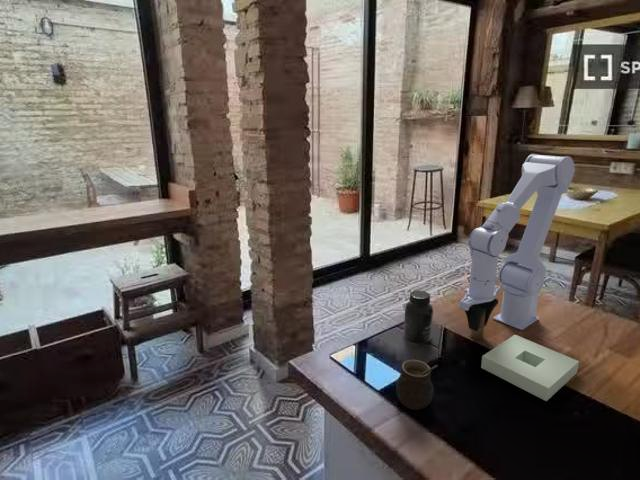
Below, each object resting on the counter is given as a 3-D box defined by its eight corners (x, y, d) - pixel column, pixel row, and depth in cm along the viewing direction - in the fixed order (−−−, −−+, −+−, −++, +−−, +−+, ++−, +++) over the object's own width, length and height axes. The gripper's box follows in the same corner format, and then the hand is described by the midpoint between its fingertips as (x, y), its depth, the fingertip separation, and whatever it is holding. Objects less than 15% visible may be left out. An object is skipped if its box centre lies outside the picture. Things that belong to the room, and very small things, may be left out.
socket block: (513, 345, 97) (514, 334, 96) (576, 373, 86) (579, 361, 85) (480, 367, 89) (482, 355, 88) (546, 401, 78) (548, 388, 77)
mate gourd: (398, 386, 83) (401, 344, 80) (436, 395, 80) (440, 352, 77) (391, 408, 77) (393, 364, 74) (431, 419, 74) (435, 374, 71)
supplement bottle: (432, 346, 97) (435, 301, 93) (403, 343, 98) (405, 299, 95) (430, 331, 104) (433, 289, 100) (403, 329, 105) (405, 287, 101)
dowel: (474, 331, 103) (477, 307, 101) (485, 336, 101) (488, 311, 99) (467, 335, 101) (470, 310, 99) (478, 340, 99) (481, 315, 97)
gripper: (484, 265, 103) (479, 312, 107) (450, 279, 95) (446, 330, 99) (510, 273, 98) (504, 322, 102) (477, 289, 90) (471, 342, 94)
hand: (477, 326), depth 100 cm, fingers closed on dowel, 3 cm apart
